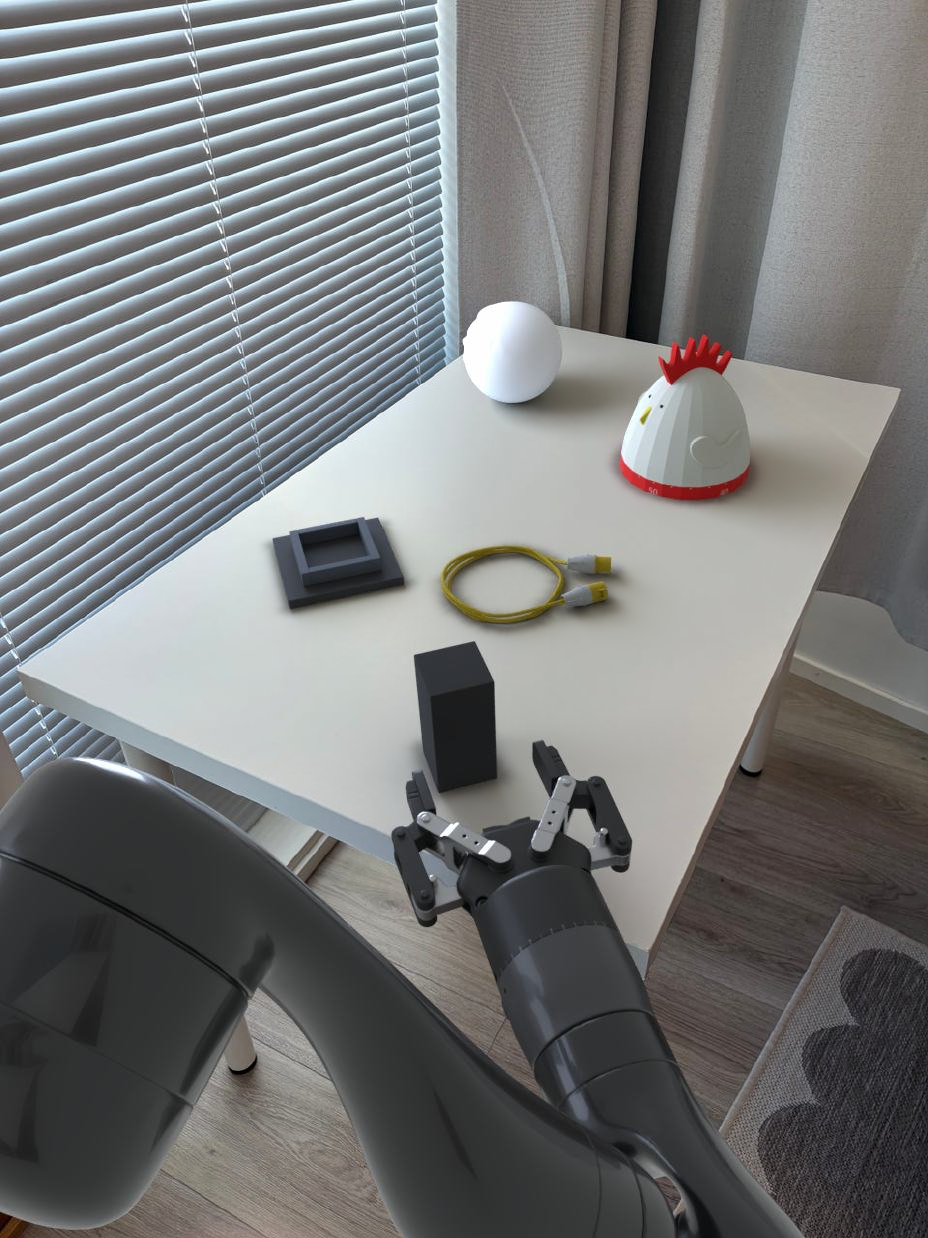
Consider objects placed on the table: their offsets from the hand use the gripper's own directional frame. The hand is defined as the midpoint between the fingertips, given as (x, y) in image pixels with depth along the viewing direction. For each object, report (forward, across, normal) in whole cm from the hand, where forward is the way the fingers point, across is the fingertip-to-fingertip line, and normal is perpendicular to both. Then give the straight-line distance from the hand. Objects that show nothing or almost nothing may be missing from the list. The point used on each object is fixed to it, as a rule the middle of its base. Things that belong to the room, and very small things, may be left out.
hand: (477, 763), depth 65 cm
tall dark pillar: (+6, 0, +6) cm, 8 cm away
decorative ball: (+63, -24, +6) cm, 67 cm away
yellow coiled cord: (+24, -12, +6) cm, 28 cm away
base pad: (+34, +4, +6) cm, 35 cm away
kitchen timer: (+40, -36, +6) cm, 54 cm away
